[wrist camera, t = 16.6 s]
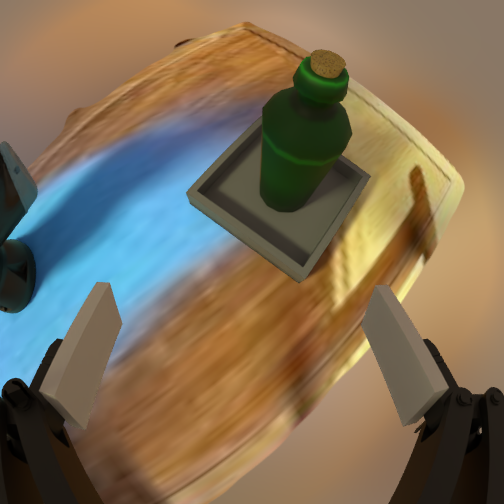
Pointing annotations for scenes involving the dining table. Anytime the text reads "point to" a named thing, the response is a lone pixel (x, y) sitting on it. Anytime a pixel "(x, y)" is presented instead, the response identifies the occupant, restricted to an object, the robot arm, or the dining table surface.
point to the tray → (267, 219)
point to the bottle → (304, 132)
